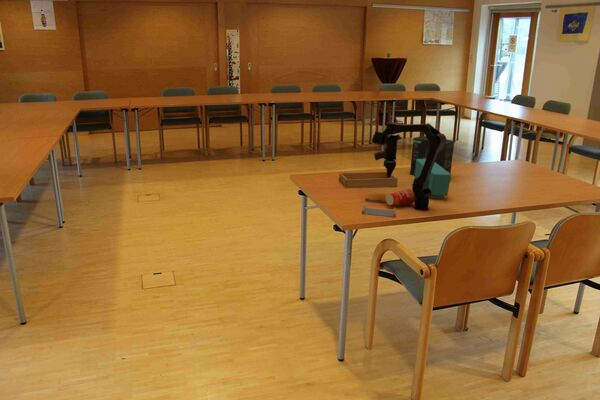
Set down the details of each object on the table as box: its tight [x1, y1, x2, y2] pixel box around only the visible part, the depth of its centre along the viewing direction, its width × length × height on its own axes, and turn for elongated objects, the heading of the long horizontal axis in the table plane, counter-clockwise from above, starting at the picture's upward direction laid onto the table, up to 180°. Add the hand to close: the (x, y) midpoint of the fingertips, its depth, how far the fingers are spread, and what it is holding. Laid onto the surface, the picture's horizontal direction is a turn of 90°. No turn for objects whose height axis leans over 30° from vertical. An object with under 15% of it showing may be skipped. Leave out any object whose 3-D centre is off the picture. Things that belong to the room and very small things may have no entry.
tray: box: [338, 171, 398, 189], centre depth 304 cm, size 31×15×6 cm, turn 102°
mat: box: [361, 204, 397, 218], centre depth 255 cm, size 16×9×2 cm, turn 79°
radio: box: [414, 159, 452, 200], centre depth 292 cm, size 34×10×15 cm, turn 4°
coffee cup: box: [385, 188, 415, 206], centre depth 266 cm, size 8×8×15 cm
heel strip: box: [364, 197, 388, 205], centre depth 271 cm, size 16×2×2 cm, turn 79°
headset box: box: [409, 135, 455, 177], centre depth 321 cm, size 22×12×26 cm, turn 49°
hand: (388, 175), depth 273 cm, fingers open, 7 cm apart
